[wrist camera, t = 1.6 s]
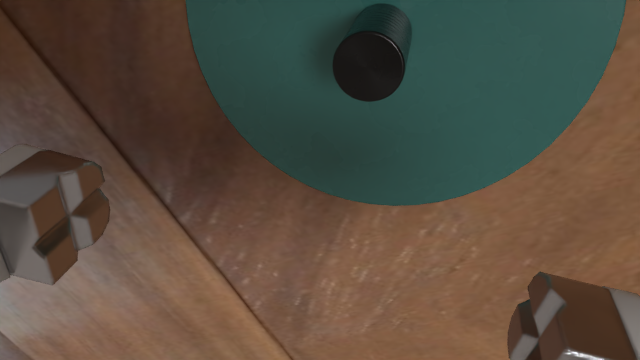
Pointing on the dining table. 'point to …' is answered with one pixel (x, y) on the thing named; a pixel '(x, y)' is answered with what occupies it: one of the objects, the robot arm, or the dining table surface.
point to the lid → (402, 86)
